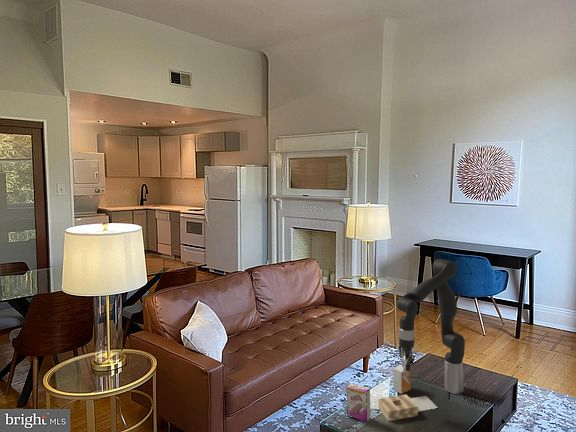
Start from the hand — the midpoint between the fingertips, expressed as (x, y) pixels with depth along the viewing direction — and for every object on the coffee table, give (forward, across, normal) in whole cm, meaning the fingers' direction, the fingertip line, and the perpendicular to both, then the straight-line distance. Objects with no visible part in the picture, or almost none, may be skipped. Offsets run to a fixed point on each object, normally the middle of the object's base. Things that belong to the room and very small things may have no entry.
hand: (406, 368), depth 223 cm
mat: (+22, +2, -10) cm, 24 cm away
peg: (+3, 0, 0) cm, 3 cm away
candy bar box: (+23, 0, +26) cm, 35 cm away
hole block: (+22, -1, +5) cm, 23 cm away
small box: (+22, +18, -7) cm, 29 cm away
